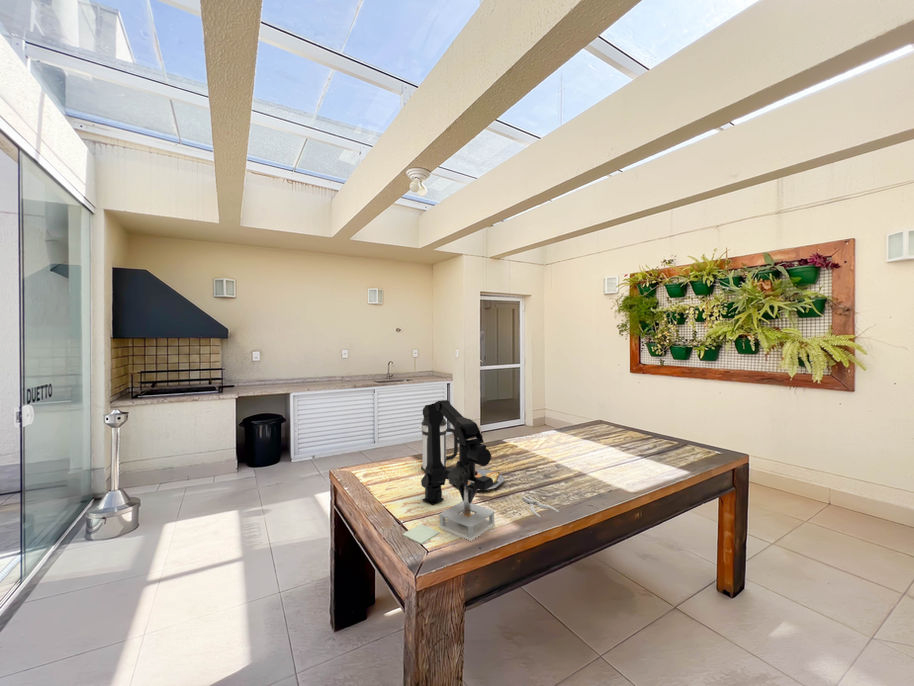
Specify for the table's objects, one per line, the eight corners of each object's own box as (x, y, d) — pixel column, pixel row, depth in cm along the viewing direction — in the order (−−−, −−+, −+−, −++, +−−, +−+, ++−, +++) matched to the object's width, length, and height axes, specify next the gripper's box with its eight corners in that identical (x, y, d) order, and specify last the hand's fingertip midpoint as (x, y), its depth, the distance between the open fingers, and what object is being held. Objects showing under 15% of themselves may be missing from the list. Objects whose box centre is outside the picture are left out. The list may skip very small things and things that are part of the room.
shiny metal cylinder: (462, 513, 130) (462, 485, 130) (466, 510, 131) (466, 483, 131) (467, 515, 128) (467, 486, 128) (472, 512, 130) (472, 484, 130)
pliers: (539, 514, 136) (515, 498, 150) (539, 518, 136) (515, 502, 150) (559, 508, 141) (535, 494, 154) (559, 513, 141) (535, 498, 154)
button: (461, 519, 129) (461, 515, 129) (466, 516, 132) (466, 512, 132) (467, 522, 128) (467, 518, 128) (472, 519, 130) (472, 515, 130)
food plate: (469, 469, 188) (469, 462, 188) (511, 478, 176) (511, 471, 176) (442, 487, 166) (442, 479, 166) (488, 499, 154) (488, 491, 154)
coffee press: (440, 478, 175) (440, 416, 175) (413, 472, 183) (413, 412, 183) (458, 468, 190) (458, 410, 190) (432, 463, 198) (432, 407, 198)
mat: (402, 535, 124) (402, 533, 124) (421, 524, 131) (421, 523, 131) (421, 544, 118) (421, 543, 118) (439, 533, 125) (439, 532, 125)
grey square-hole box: (439, 527, 129) (439, 513, 129) (464, 513, 139) (464, 500, 139) (471, 541, 120) (471, 526, 120) (494, 525, 131) (494, 511, 131)
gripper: (432, 458, 129) (432, 502, 129) (474, 470, 117) (474, 518, 117) (452, 450, 138) (452, 492, 138) (494, 461, 126) (494, 506, 126)
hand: (467, 501), depth 130 cm, fingers closed on shiny metal cylinder, 2 cm apart
